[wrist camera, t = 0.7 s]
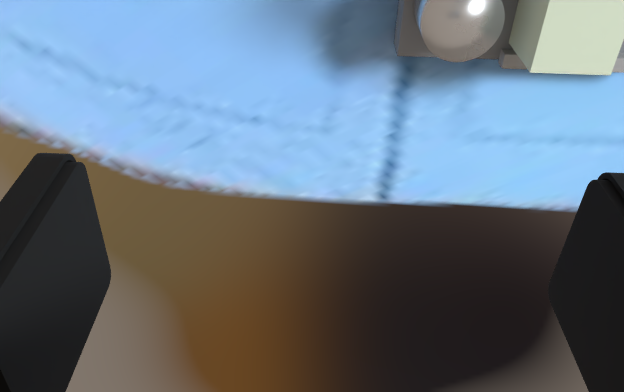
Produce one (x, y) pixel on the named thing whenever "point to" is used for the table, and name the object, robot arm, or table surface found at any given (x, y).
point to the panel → (413, 45)
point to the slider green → (568, 35)
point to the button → (459, 26)
